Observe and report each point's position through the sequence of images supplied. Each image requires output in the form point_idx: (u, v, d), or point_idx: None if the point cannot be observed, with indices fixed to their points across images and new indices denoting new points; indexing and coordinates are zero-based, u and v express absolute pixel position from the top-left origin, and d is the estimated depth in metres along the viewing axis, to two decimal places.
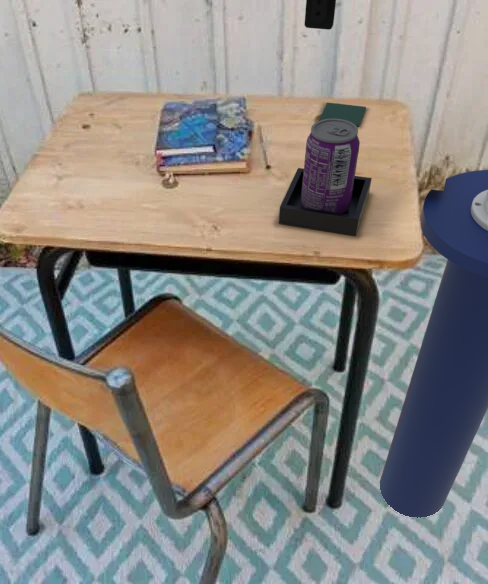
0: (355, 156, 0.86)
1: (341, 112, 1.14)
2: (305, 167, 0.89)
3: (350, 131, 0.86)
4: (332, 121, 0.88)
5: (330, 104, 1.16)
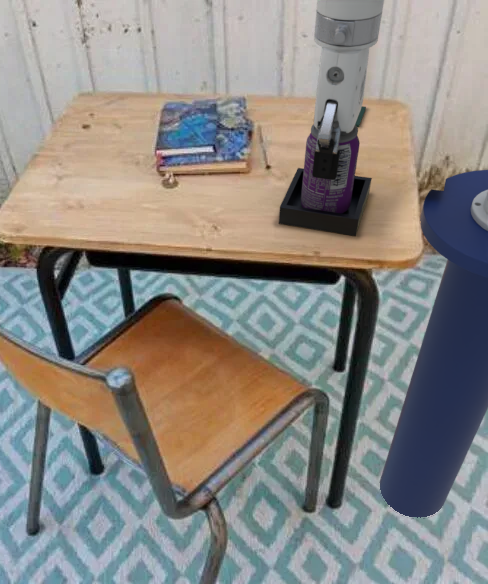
0: (355, 156, 0.86)
1: None
2: (305, 167, 0.89)
3: None
4: None
5: None
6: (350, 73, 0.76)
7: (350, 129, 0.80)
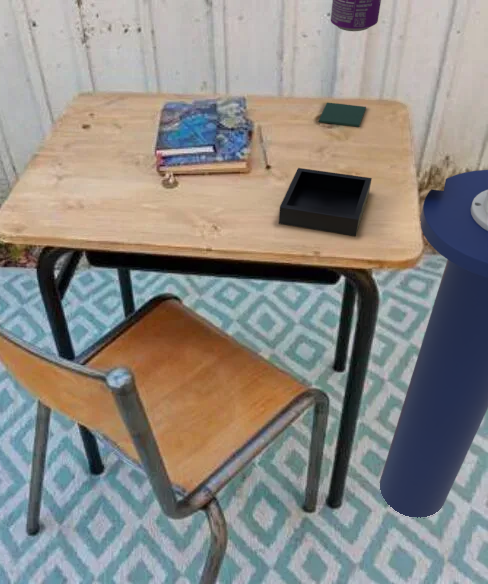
0: None
1: (341, 112, 1.14)
2: None
3: None
4: None
5: (330, 104, 1.16)
6: None
7: None
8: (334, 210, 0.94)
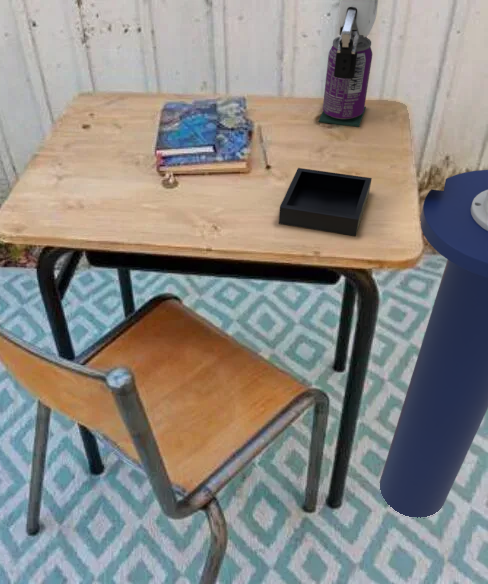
0: (369, 64, 1.06)
1: None
2: (327, 76, 1.09)
3: (365, 43, 1.05)
4: None
5: None
6: None
7: (366, 33, 0.99)
8: (334, 210, 0.94)
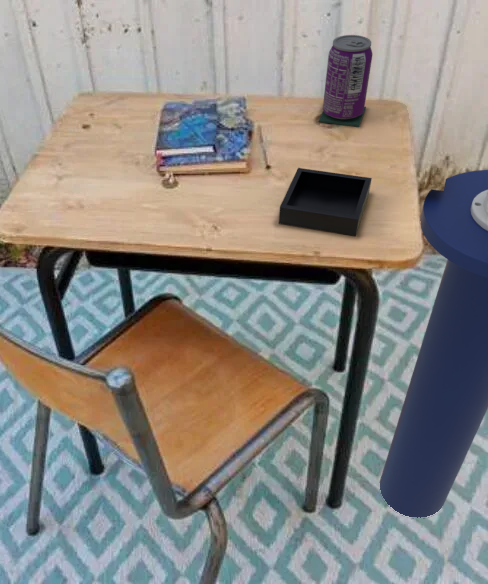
0: (369, 64, 1.06)
1: None
2: (327, 76, 1.09)
3: (365, 43, 1.05)
4: (349, 37, 1.07)
5: None
6: None
7: None
8: (334, 210, 0.94)
